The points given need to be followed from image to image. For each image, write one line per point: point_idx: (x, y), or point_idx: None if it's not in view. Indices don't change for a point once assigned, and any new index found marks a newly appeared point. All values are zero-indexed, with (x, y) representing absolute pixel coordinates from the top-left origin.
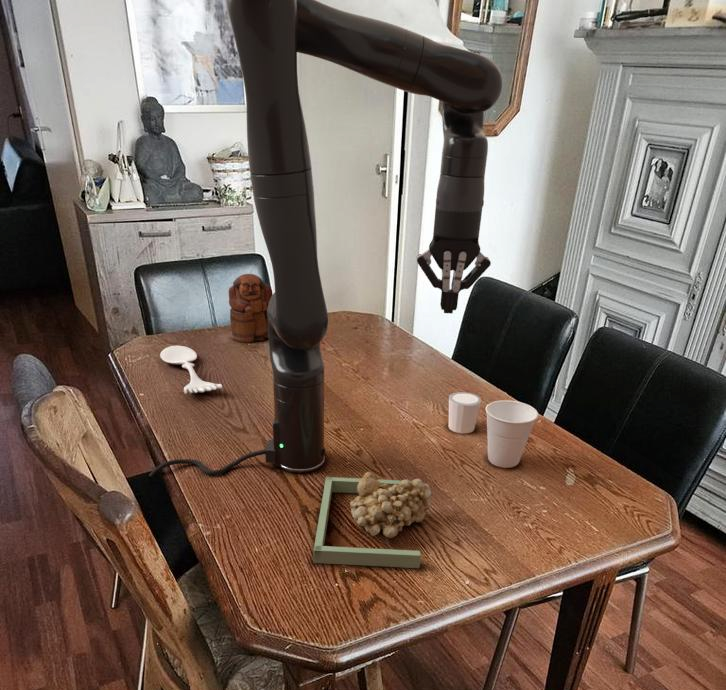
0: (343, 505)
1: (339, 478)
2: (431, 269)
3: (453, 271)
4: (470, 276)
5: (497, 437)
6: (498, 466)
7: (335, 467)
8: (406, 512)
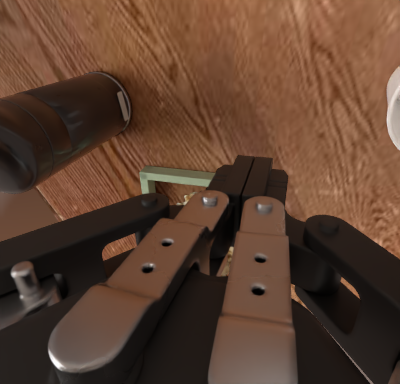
0: (169, 196)
1: (154, 176)
2: (92, 271)
3: (236, 235)
4: (333, 336)
5: (398, 129)
6: (398, 106)
7: (148, 117)
8: (223, 275)
